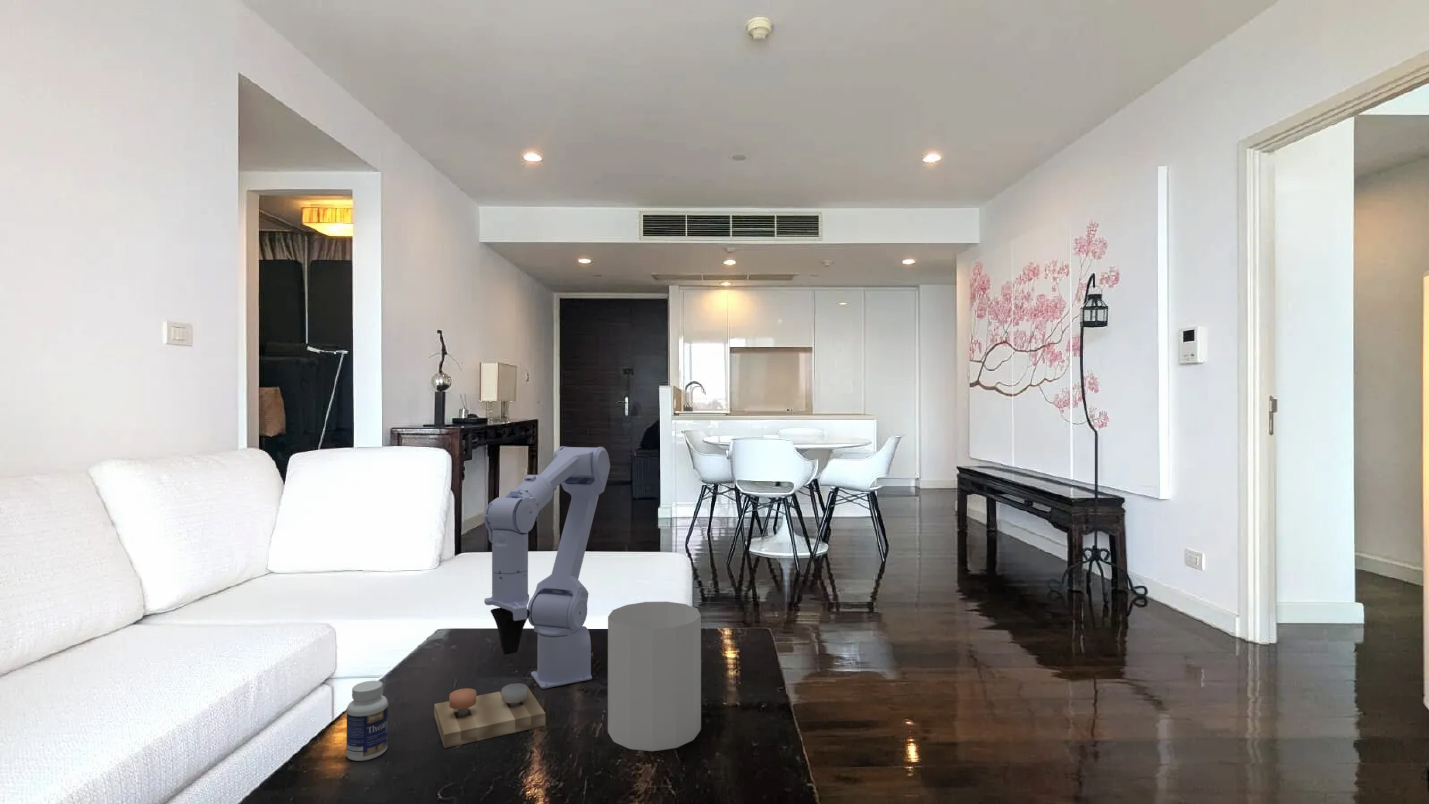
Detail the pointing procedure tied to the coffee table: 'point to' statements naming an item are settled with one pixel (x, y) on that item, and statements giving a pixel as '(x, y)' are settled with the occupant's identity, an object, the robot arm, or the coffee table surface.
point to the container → (654, 675)
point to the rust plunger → (462, 700)
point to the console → (487, 719)
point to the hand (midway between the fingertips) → (510, 652)
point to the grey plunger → (514, 693)
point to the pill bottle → (367, 722)
